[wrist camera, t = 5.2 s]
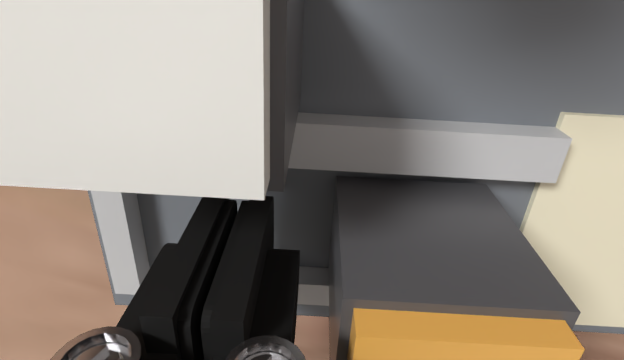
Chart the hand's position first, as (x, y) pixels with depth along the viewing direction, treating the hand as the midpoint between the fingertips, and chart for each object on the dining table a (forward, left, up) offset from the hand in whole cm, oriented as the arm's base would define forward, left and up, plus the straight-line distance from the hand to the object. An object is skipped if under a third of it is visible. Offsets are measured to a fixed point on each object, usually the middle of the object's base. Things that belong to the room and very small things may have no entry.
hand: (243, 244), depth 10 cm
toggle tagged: (0, -4, -1) cm, 5 cm away
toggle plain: (+5, +1, -1) cm, 5 cm away
